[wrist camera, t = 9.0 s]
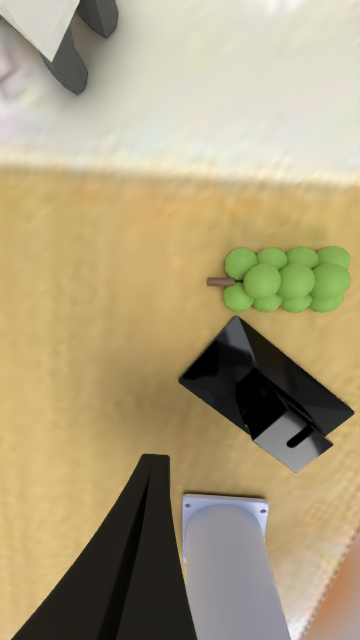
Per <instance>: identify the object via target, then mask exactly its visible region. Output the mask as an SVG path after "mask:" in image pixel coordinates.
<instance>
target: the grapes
mask: <svg viewBox="0 0 360 640" xmlns="http://www.w3.org/2000/svg"><path fill="white" fill-rule="evenodd" d="M350 262H351V259H350V255H349V253H348V252H347V251H346V250H345V249H343V248H341V247H336V246H332V247H326V248H323V249H321V250H320V251H318V252H317V253H316V252H315V251H314V250H312V249H311V248H308V247H297V248H294V249H292V250H290V251H289V252H288V253H287V254H285V253H284V252H283V251H282V250H281V249H279V248H275V247H269V248H266V249H263V250H262V251H260V252H259V253H258V254H257V255H255V253H254V252H253V251H252V250H250V249H248V248H237V249H235V250H233V251H232V252H231V253H230V254H229V255H228V256H227V258H226V260H225V270H226V272H227V274H228V275H229V276H230V277H231V278H207V286H228V287H227V288H226V289H225V291H224V294H223V301H224V303H225V305H226V307H227V308H228V309H230V310H232V311H234V312H242V311H245V310H247V309H248V308H250V307H251V305H252V306H253V307H254V308H255V309H257V310H258V311H261V312H271V311H274V310H275V309H277V308H278V307H279V306H280V307H281V308H282V309H284V310H286V311H288V312H300V311H303V310H305V309H306V308H307V307H309V308H310V309H311V310H313V311H315V312H320V313H325V312H330V311H333V310H335V309H336V308H337V307H339V305H340V304H341V303H342V301H343V293H344V292H345V291H346V290H347V289H348V287H349V285H350V274H349V272H348V271H347V269H348V268H349V266H350ZM235 280H243V282H235Z"/></svg>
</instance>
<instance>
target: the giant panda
mask: <svg viewBox="0 0 360 640" xmlns="http://www.w3.org/2000/svg"><path fill="white" fill-rule="evenodd" d="M75 10H76V11H77V12H78V14H79V15H80V16H81V18H82V19H83V20H84V21H85V22H86V23H87V24H88V25H89V26H90V27H91V28H92V29H93V30H94V31H96V32H97V33H99V34H101V35H102V36H104V37H105V38H106V37H107V36H108V35H109V34H110V33H111V32H112V31H113V30H114V29H115V27H116V22H117V17H118V10H117V6H116V2H115V0H0V15H1V16H3V17H4V18H5V19H6V20H7V21H8V22H9V23H10V24H11V25H12V26H13V27H14V28H16V29H17V30H18V31H19V32H20V33H21V34H22V35H23V36H24V37H25V38H26V39H27V40H28V41H29V42H31V43H32V44H33V45H34V46H35V47H36V48H37V49H38V51H39V52H40V54H41V56H42V57H43V59H44V62H45V64H46V66H47V67H48V69H49V70H50V71H51V73H52V74H53V75H54V76H55V78H56V79H57V80H58V81H59V82H60V83H61V84H62V85H63V86H64V87H66V88H67V89H69V90H70V91H72V92H73V93H75V94H76V95H78V94H79V93H80V92H81V91H82V90H83V89H84V88H85V86H86V81H87V76H88V73H87V71H86V69H85V67H84V65H83V63H82V61H81V59H80V57H79V55H78V54H77V52H76V50H75V48H74V44H73V39H72V34H71V30H70V25H69V23H70V21H71V19H72V17H73V15H74V12H75Z"/></svg>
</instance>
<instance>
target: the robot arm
mask: <svg viewBox="0 0 360 640" xmlns="http://www.w3.org/2000/svg"><path fill="white" fill-rule="evenodd" d="M268 511H269V504H268V502H267V500H265V499H259V498H244V497H230V496H215V495H201V494H185V495H183V562H184V563H185V564H186V576H185V583H184V579H183V574H182V569H181V564H180V559H179V554H178V548H177V543H176V537H175V531H174V524H173V517H172V510H171V501H170V457H169V456H168V455H159V454H143V455H142V456H141V458H140V460H139V462H138V464H137V466H136V468H135V470H134V471H133V473H132V475H131V477H130V479H129V481H128V482H127V484H126V486H125V487H124V489H123V491H122V492H121V494H120V496H119V497H118V499H117V501H116V502H115V504H114V506H113V507H112V509H111V510H110V512H109V513H108V515H107V516H106V518H105V519H104V521H103V522H102V524H101V526H100V527H99V529H98V530H97V531H96V533H95V534H94V536H93V537H92V539H91V540H90V541H89V543H88V544H87V546H86V547H85V548H84V550H83V551H82V552H81V554H80V555H79V557H78V558H77V559H76V561H75V562H74V563H73V565H72V566H71V567H70V568H69V570H68V571H67V572H66V574H65V575H64V576H63V577H62V579H61V580H60V581H59V583H58V584H57V585H56V586H55V588H54V589H53V590H52V591H51V593H50V594H49V595H48V596H47V598H46V599H45V600H44V601H43V602H42V604H41V605H40V606H39V607H38V608H37V610H36V611H35V612H34V613H33V614H32V615H31V617H30V618H29V619H28V620H27V621H26V623H25V624H24V625H23V626H22V627H21V628H20V630H19V631H18V632H17V633H16V634H15V635H14V637H13V638H12V639H11V640H291V638H290V635H289V631H288V627H287V623H286V620H285V616H284V612H283V609H282V605H281V601H280V597H279V594H278V590H277V586H276V582H275V579H274V575H273V571H272V567H271V564H270V560H269V556H268V553H267V549H266V545H265V541H264V538H265V531H266V525H267V518H268Z"/></svg>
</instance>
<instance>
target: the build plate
mask: <svg viewBox="0 0 360 640" xmlns="http://www.w3.org/2000/svg"><path fill="white" fill-rule="evenodd" d="M179 383H180V384H181V385H183V386H184V387H186V388H187V389H188V390H190V391H191V392H192V393H194V394H195V395H196V396H198V397H199V398H200V399H202V400H203V401H204V402H206V403H207V404H208V405H210V406H211V407H212V408H214V409H215V410H216V411H218V412H219V413H221V414H222V415H223V416H225V417H226V418H227V419H229V420H230V421H231V422H233V423H234V424H235V425H237V426H238V427H239V428H241V429H242V430H243V431H245V432H246V433H247V434H249V435H250V436H251V439H252V441H253V442H254V443H256V444H257V445H259V446H260V447H261V448H263V449H264V450H265V451H267V452H268V453H269V454H271V455H272V456H273V457H275V458H276V459H277V460H279V461H280V462H281V463H283V464H284V465H286V466H287V467H288V468H290V469H291V470H292V471H294V472H295V473H297V472H298V471H300V470H301V469H302V468H304V467H305V466H306V465H308V464H309V463H310V462H312V461H313V460H314V459H316V458H317V457H318V456H320V455H321V454H322V453H324V452H325V451H326V450H328V449H329V448H330V447H332V446H333V443H332V442H331V441H330V440H329V438H328V437H327V436H326V435H328V434H329V433H330V432H332V431H333V430H334V429H336V428H337V427H338V426H339V425H341V424H342V423H343V422H345V421H346V420H347V419H349V418H350V417H351V416H352V415H354V411H353V410H352V409H351V408H350V407H348V406H347V405H346V404H345V403H344V402H342V401H341V400H340V399H339V398H337V397H336V396H335V395H334V394H333V393H331V392H330V391H329V390H328V389H326V388H325V387H324V386H323V385H322V384H320V383H319V382H318V381H317V380H315V379H314V378H313V377H312V376H311V375H309V374H308V373H307V372H306V371H304V370H303V369H302V368H301V367H300V366H298V365H297V364H296V363H295V362H294V361H292V360H291V359H290V358H289V357H287V356H286V355H285V354H284V353H283V352H281V351H280V350H279V349H278V348H276V347H275V346H274V345H273V344H272V343H270V342H269V341H268V340H267V339H265V338H264V337H263V336H262V335H261V334H259V333H258V332H257V331H256V330H254V329H253V328H252V327H251V326H250V325H248V324H247V323H246V322H245V321H244V320H242V319H241V318H240V317H239V316H235V317H233V319H232V320H231V321H230V322H229V323H228V324H227V325H226V326H225V327H224V329H223V330H222V331H221V332H220V333H219V334H218V335H217V336H216V337H215V338H214V340H213V341H212V342H211V343H210V344H209V345H208V346H207V347H206V348H205V349H204V351H203V352H202V353H201V354H200V355H199V356H198V357H197V358H196V359H195V361H194V362H193V363H192V364H191V365H190V366H189V367H188V368H187V369H186V370H185V372H184V373H183V374H182V375H181V376H180V377H179Z"/></svg>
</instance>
